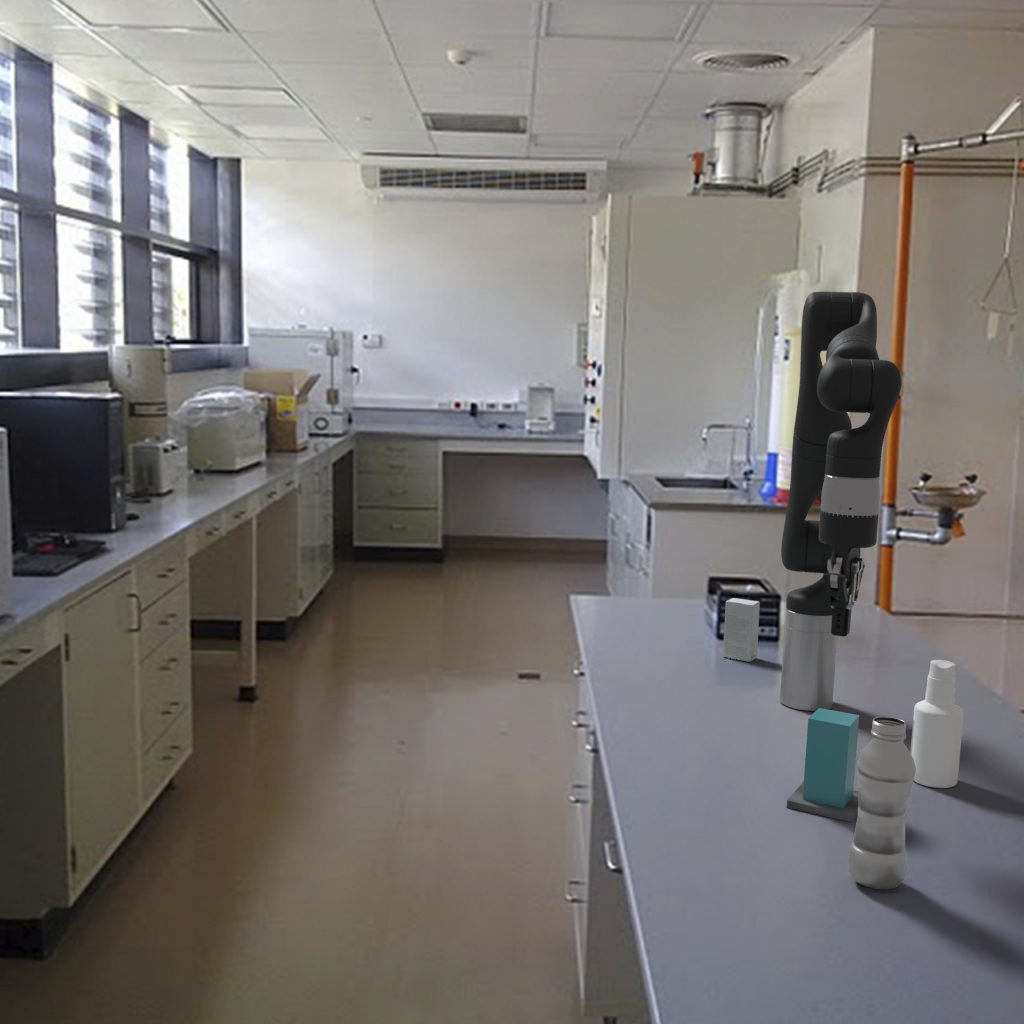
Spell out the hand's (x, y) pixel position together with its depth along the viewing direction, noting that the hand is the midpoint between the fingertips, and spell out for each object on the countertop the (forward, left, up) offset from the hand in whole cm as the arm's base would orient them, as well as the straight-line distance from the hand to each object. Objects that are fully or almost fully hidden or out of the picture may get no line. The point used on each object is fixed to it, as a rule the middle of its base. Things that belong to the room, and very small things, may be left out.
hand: (840, 634), depth 153 cm
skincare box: (-67, -35, -25) cm, 80 cm away
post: (0, 0, -24) cm, 24 cm away
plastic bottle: (+21, +11, -25) cm, 34 cm away
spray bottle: (-18, +11, -25) cm, 32 cm away
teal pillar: (0, 0, -23) cm, 23 cm away
